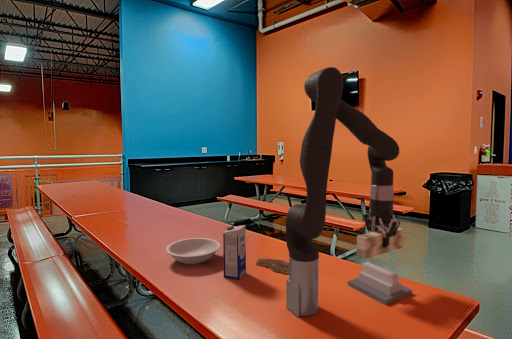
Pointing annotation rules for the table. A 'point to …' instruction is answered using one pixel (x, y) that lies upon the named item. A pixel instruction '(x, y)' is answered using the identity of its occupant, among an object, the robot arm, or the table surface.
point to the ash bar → (377, 243)
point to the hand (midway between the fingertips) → (380, 245)
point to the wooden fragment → (274, 265)
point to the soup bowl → (193, 250)
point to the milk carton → (234, 252)
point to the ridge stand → (379, 284)
